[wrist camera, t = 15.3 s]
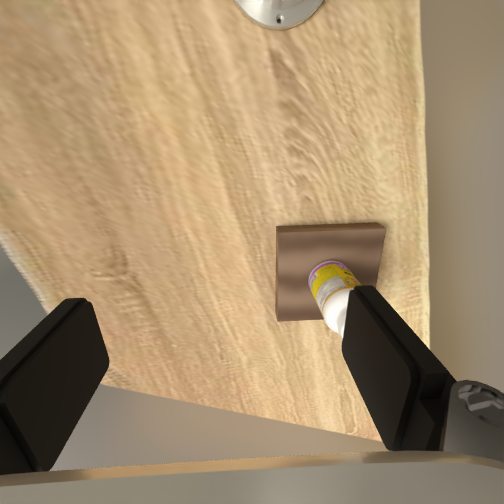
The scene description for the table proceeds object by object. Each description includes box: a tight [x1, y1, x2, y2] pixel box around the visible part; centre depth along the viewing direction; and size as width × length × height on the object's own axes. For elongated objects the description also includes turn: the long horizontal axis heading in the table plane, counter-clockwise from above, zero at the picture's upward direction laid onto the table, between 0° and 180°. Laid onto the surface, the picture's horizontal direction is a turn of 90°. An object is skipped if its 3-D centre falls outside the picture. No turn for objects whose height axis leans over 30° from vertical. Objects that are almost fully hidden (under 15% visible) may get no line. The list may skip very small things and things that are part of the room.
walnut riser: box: [275, 223, 386, 321], centre depth 45 cm, size 16×16×3 cm
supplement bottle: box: [309, 261, 361, 339], centre depth 37 cm, size 7×7×13 cm
